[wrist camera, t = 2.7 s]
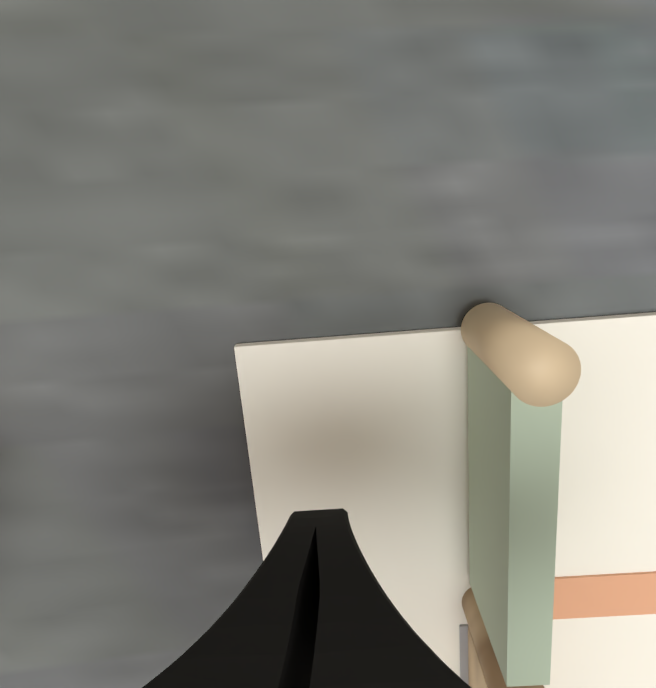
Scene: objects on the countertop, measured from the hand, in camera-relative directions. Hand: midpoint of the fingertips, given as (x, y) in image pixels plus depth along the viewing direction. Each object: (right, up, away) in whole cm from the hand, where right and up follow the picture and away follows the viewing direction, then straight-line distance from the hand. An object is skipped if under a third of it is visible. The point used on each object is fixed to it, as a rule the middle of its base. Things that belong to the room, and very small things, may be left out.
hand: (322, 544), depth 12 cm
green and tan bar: (+5, +1, +4) cm, 7 cm away
